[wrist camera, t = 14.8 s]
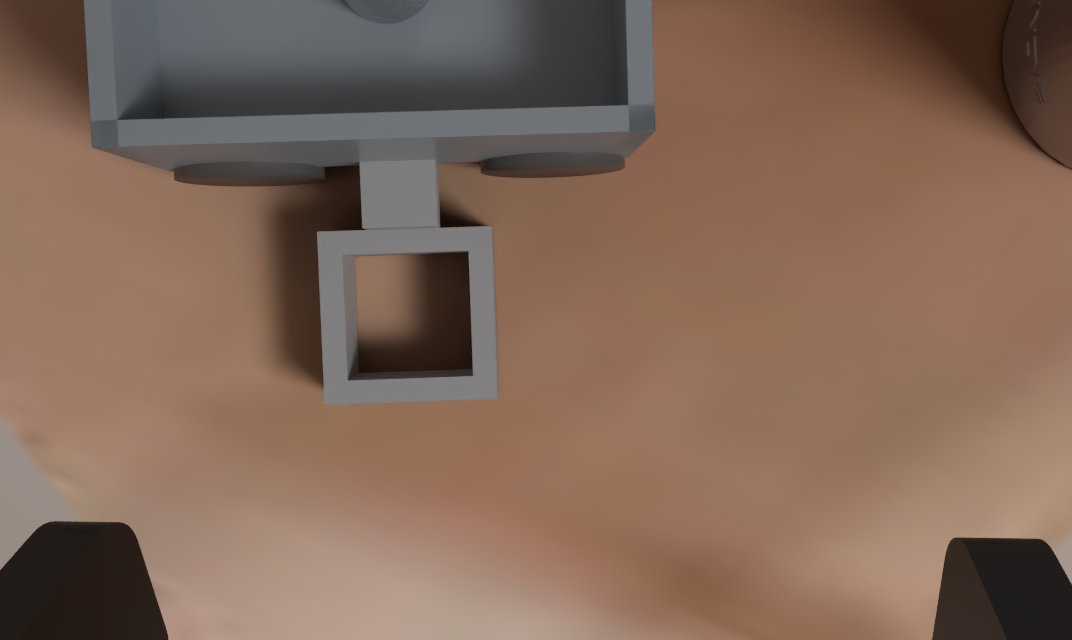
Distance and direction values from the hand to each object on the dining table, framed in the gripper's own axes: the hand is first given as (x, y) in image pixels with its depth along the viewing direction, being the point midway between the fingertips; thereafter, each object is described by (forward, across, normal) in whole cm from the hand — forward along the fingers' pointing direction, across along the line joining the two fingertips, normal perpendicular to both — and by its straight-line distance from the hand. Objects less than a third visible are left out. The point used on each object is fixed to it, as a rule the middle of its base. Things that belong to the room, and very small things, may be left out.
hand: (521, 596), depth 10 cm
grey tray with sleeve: (+26, +7, +2) cm, 27 cm away
